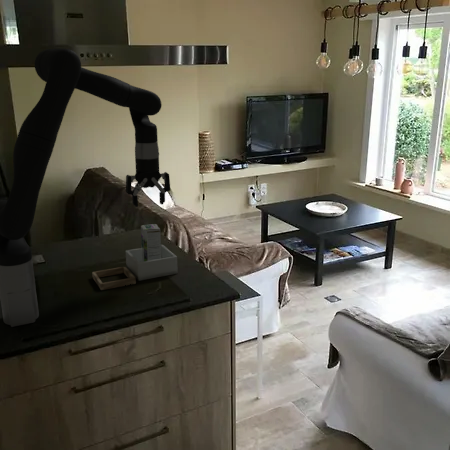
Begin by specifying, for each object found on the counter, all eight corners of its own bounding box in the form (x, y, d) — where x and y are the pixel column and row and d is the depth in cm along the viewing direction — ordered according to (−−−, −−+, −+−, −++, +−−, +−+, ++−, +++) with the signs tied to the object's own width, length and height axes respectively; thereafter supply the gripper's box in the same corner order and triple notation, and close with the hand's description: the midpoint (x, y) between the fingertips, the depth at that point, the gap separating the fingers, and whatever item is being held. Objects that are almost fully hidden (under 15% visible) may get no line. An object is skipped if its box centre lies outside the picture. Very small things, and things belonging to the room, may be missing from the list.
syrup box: (141, 265, 179) (139, 225, 175) (158, 263, 181) (156, 223, 177) (145, 271, 174) (142, 229, 170) (162, 268, 176) (160, 228, 172)
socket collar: (135, 283, 167) (135, 277, 166) (101, 290, 162) (100, 284, 162) (125, 271, 176) (125, 266, 176) (92, 277, 172) (92, 272, 171)
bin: (177, 273, 175) (177, 256, 173) (138, 280, 169) (137, 263, 167) (163, 260, 187) (162, 244, 185) (126, 266, 181) (125, 250, 179)
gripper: (165, 153, 172) (166, 200, 177) (122, 155, 167) (125, 204, 172) (171, 156, 166) (173, 205, 170) (127, 159, 161) (129, 210, 165)
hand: (148, 205), depth 171 cm, fingers open, 8 cm apart
